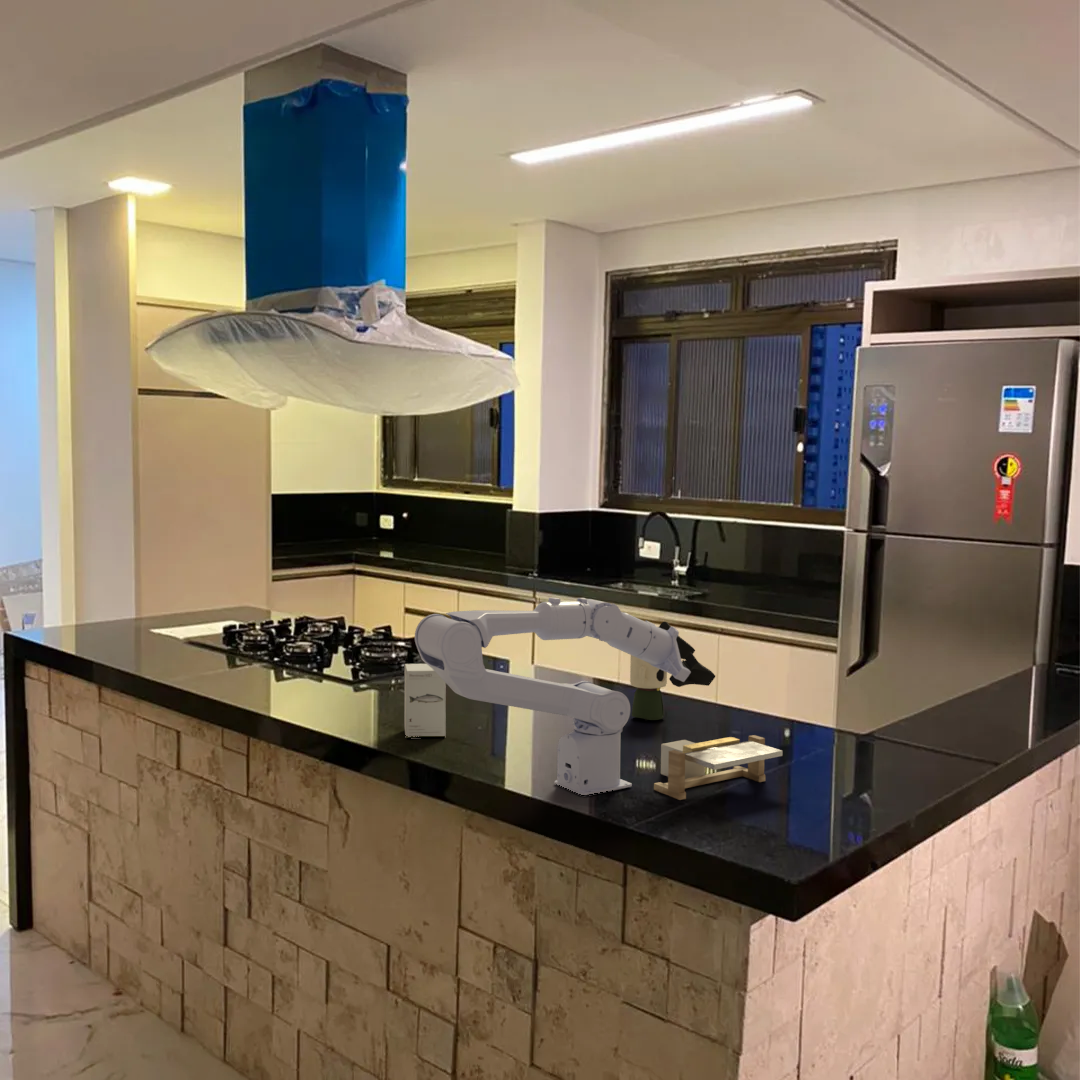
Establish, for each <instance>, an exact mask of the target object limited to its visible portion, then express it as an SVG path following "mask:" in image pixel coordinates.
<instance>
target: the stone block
mask: <svg viewBox="0 0 1080 1080" xmlns="http://www.w3.org/2000/svg"><path fill="white" fill-rule="evenodd" d="M695 743H696V742H693V741H690V740H687V739H681V740H676V741H671V742H666V743H661V745H660V774H661V775H662V776H666V777H668V760H669V751H672V750H676V751H679V752H682V753H683V746H684V745H689V744H695ZM702 775H706V767H705V766H702V765H699V764H696V763H693V762H691V761H688V760H685V779H688V778H693V777H697V776H702Z"/></svg>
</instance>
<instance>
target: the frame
mask: <svg viewBox="0 0 1080 1080" xmlns="http://www.w3.org/2000/svg"><path fill="white" fill-rule="evenodd" d="M748 741H753V742H756V743H759V744H763V745H766V738H765V737H763V736H759V735H756V734H754V735H753V734H752V735H748ZM740 777H744V778H746V779H749V780H752V781H755V782H758V783H762V782H766V774H765V760H760V761H755V762H750V763H747V768H746V767H743V766H742V765H741V766H740V765H736V766H732V769H727V770H722V771H718V772H714V773H707V774H705V775H702V776H697V777H693V778H688V779H685V753H682V752H679V751H676V750H672V751H669V760H668V776H667V782H661V781H660V782H659V781H658V782H654V783H653V791H656V792H659V793H661V794H664V795H666V796H669V797H670V798H673V799H676V800H678V801H681V800H686V799H687V792H686V791H685V790H686V789H688V788H689V789H690V788H693V787H697V786H703V785H706V784H712V783H717V782H721V781H725V780H731V779H735V778H740Z"/></svg>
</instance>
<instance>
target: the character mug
mask: <svg viewBox="0 0 1080 1080" xmlns="http://www.w3.org/2000/svg"><path fill="white" fill-rule="evenodd" d="M629 673H630V674H629V675H630V678H629V681H630V682H629V683H630V685H631V686H632V687H635V688H636V689H635V692H634V693H633V701H632V710H631V716H632V718H638V719H644V721H645V722H647V721H648V720H649V721H658V720H662V719H663V718H664V717H665V710H664V709H665V708H664V701H663V693H662V691H661V688H665V687H666V686H667V684H668V683H667V682H668V681H667V680H668V677H667V676H668V672H665V671H663V670H661V669H658V668H656V667H654V666H652V665H651V664H650V663H648V662H646V661H643V660H641V659H639V658H637V657H634V656H632V655H630V672H629Z"/></svg>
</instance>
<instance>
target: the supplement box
mask: <svg viewBox="0 0 1080 1080" xmlns="http://www.w3.org/2000/svg"><path fill="white" fill-rule="evenodd" d="M446 685H447V684H446V683H445V682H444V680H443V679H442V678H441V677H440V676H439V675H438V674H437V673H436V672H435V671H434V670H433V669H432V668H431V667H430V666H429V665H427V664H426V663H404V710H403V711H404V712H403V713H404V714H403V715H404V717H403V718H404V720H403V721H404V725H403V726H404V727H403V728H404V734H405V735H406V736H408V737H411V736H413V737H415V736H416V737H417V736H418V737H419V736H445V737H446V735H447V734H446V733H447V732H446V730H447V726H446V725H447V723H446V721H447V720H446V719H447V718H446V707H447V706H446V704H447V703H446V701H447V700H446V697H447V694H446V693H447V691H446V689H447V688H446V687H447V686H446ZM406 736H405V737H406Z"/></svg>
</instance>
